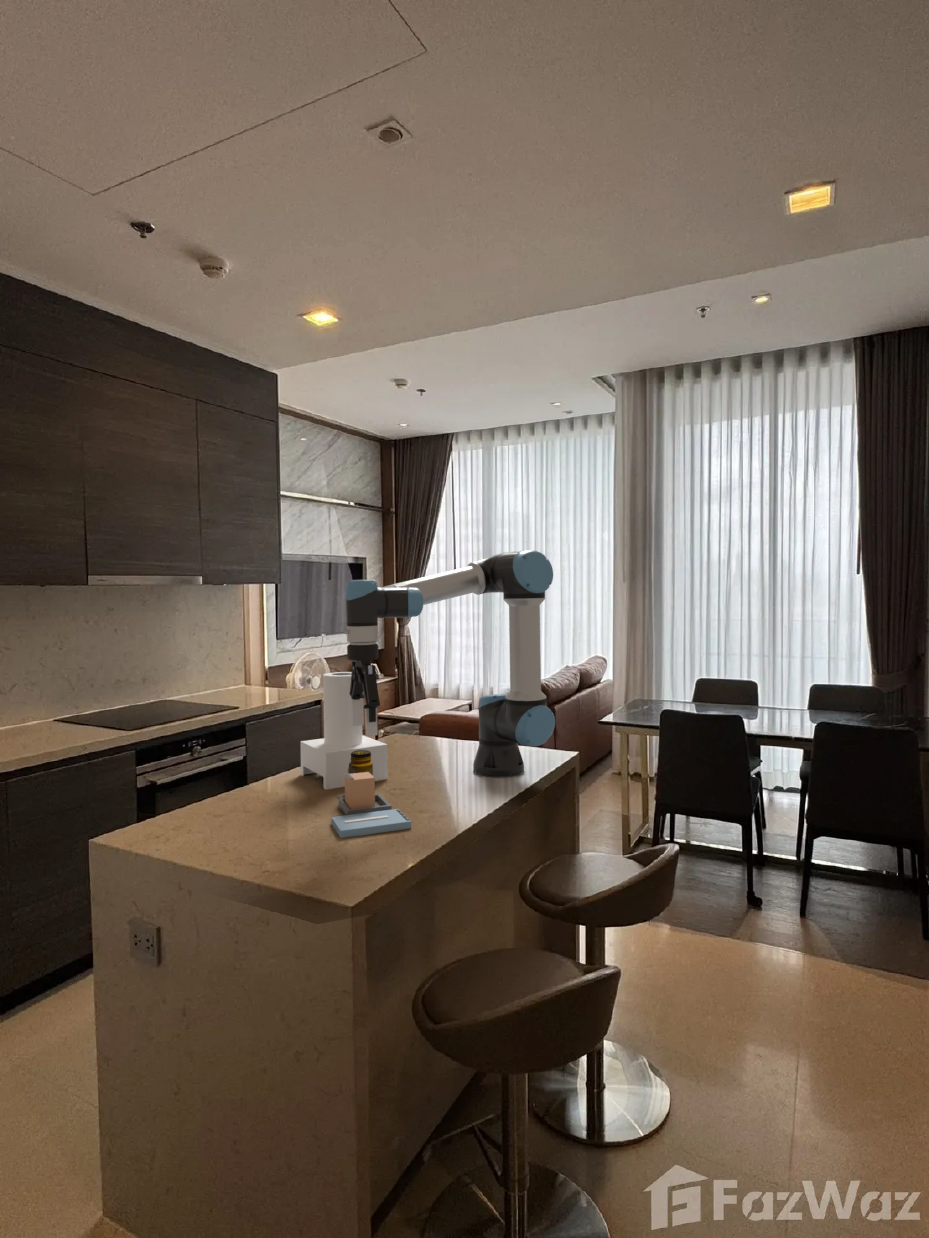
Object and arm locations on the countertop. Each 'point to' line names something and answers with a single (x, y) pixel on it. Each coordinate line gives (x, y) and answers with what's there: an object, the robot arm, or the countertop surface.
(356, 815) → the board
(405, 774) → the countertop surface
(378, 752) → the paper towel holder
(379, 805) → the tray
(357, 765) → the condiment
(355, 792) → the stub
